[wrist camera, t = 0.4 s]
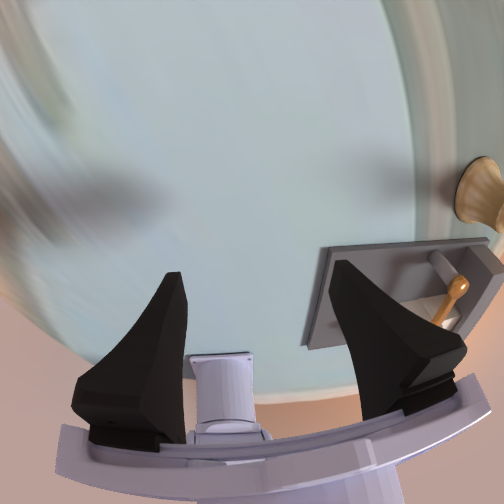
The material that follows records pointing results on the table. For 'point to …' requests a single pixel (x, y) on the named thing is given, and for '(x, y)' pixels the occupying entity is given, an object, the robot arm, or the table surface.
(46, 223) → the table surface
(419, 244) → the grey base plate
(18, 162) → the table surface
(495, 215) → the hand bell
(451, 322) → the plug
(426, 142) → the table surface
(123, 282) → the table surface
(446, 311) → the ball-topped lever
